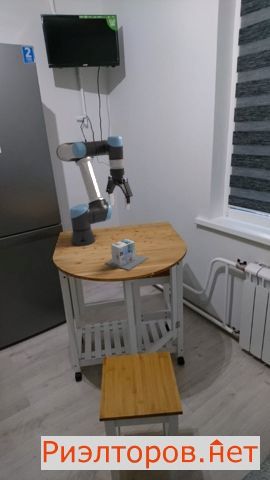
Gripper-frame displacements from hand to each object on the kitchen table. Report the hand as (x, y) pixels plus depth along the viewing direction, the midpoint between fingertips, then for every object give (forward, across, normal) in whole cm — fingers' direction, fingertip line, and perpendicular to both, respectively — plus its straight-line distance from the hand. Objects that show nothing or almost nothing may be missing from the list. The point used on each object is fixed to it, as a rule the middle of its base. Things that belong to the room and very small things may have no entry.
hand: (119, 207), depth 155 cm
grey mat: (+25, +14, -9) cm, 30 cm away
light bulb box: (+19, +14, -16) cm, 29 cm away
